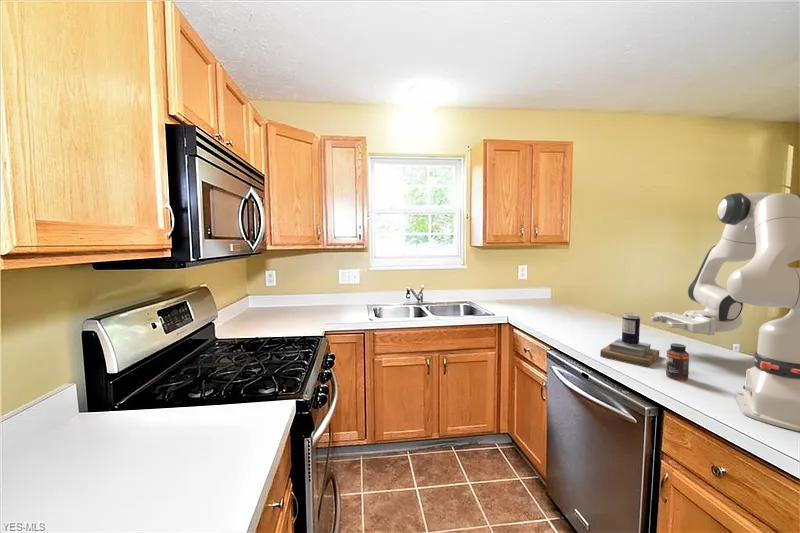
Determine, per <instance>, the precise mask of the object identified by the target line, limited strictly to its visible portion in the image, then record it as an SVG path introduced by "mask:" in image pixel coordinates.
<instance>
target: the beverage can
mask: <svg viewBox="0 0 800 533" xmlns="http://www.w3.org/2000/svg"><path fill="white" fill-rule="evenodd" d="M640 324H641V317H640V314H638V313H633V312H631V313H630V312H627V313H626V312H624V314H623V316H622V324H621V325H622V326H621V327H622V330H621V332H622V333H621V339H622V342H623V343H624V344H626V345H630V346H636V345H637V344H639V342H640V329H641V328H640V327H641V326H640Z"/></svg>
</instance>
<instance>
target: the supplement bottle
mask: <svg viewBox="0 0 800 533" xmlns="http://www.w3.org/2000/svg"><path fill="white" fill-rule="evenodd" d="M686 346H687V345H685V344H681V343H673V342H672V343H670V348H669V349H668V350H667V351H666V363H665V364H666V365H665V375H666V377H667V378H670V379H672V380H675V381H687V380H688V379H689V374H690V373H689V372H690V371H689V366H690V354H689V352H688V351H686V348H687V347H686Z"/></svg>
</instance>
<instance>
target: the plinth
mask: <svg viewBox="0 0 800 533" xmlns="http://www.w3.org/2000/svg"><path fill="white" fill-rule="evenodd" d="M601 356H603V357H602V358H605V357H607V358H606V359H610V358H612V359H611V360H614V359H616V360H615V361H619V360H620V361H619V362H623V363H627V364H633V365H637V366H641V367H646V368H649V367H650V366H651V365H653V363H654V362H655V361H656V360H658V359H659V358H660V349H654V348H651V343H646V342H641V341H639V344H637V345H636V346H630V345H626V344H624V343H623V342H622V338H620V337H619V338H617V339H616V340H614V341H613V342H611V343H609V344H608V345H607V346H605V347H604V348H602V349H600V356H599V357H601Z"/></svg>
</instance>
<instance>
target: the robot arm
mask: <svg viewBox="0 0 800 533" xmlns="http://www.w3.org/2000/svg"><path fill="white" fill-rule="evenodd" d="M717 217H718V219H719V221H720V222H721V223H723V224H725V226H724V229H723V231H722V233H721V234H722V235H721V237H720V240H719V242H718V243H717V244H715V245H713V246H712V247H711V248H710V249H709V250H708V251H707V253H706V255H705V257H704V259H703V262H702V263H701V266H700V267H699V270H698V271H697V274H696V276H695V278H694V280H693V281H692V282H691V283H690V285H689V287H688V290H687V295H688V297H689V299H690V301H691V300H692V301H693V302H696V303H697V304H700V305H702V306H703V307H705V309H695V310H694V309H691V310H690V309H689V310H686V311H684V312H683V314H679V313H676V312H670V311H667V312H666V311H657V312H654V316H651V317H650V322H653V323H657V322H658V323H661V324H665V325H668V327H669V328H670V329H671V328H672V329H679V330H682V331H686V332H689V333H693V334H701V335H706V336H714V335H715V333H725V332H730V331H731V332H733V331H734V330H737V329H739V328H740V327H741V326H742V324H743V317H742V315H741V314H742V310H743V308H744V304H747V305H752V306H757V307H770V308H772V307H773V308H783V309H785V308H786V309H787V308H788V309H790V310H789V312H788V313H787V314H785V315H784V316H782V317H779V318H775V319H773V320H769V321H766V322H765V323H763V324H762V325H761V326H760V327H759V328H758V334H757V348H756V351H755V352H754V355H753V366H752V367H750V368H748V369H747V368H746V376H745V384H744V385H743V387H742V388H743V390H744V391H738V390H737V391H735V392H734V397H735V399H736V401H737V403H738V406H739V408H740V411H741V413H742V415H744V416H747V417H749V418H752V419H754V420H758V421H760V422H764V423H766V424H769V425H774V426H777V427H780V428H785V429H787V430H791V431H796V432H800V267H792V266H791V267H790V266H788V264H790V263H794V262H796V261H800V193H789V192H778V193H777V192H768V191H767V192H764V191H763V192H746V193H741V192H735V193H731V194H727V195H726V196H724V197H723V198H722V199H721V200H720V203H719V204H718V207H717ZM748 260H750V261H749V262H747V264H745V265H743V266H741V267H739V268H737V269H735V270H734V271H732V272H731V273H730V275H729V276H728V278H727V280H726V284H725V286H726V287H723V286H721V284H720V285H719V284H718V283H717V281H716V278H717V276H718V274H719V272H720V270H721V269H722V268H721V267H722V265H724V264H725V263H726V262H729V263H731V262H732V263H733V262H734V263H736V262H737V263H738V262H745V261H748Z"/></svg>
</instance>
